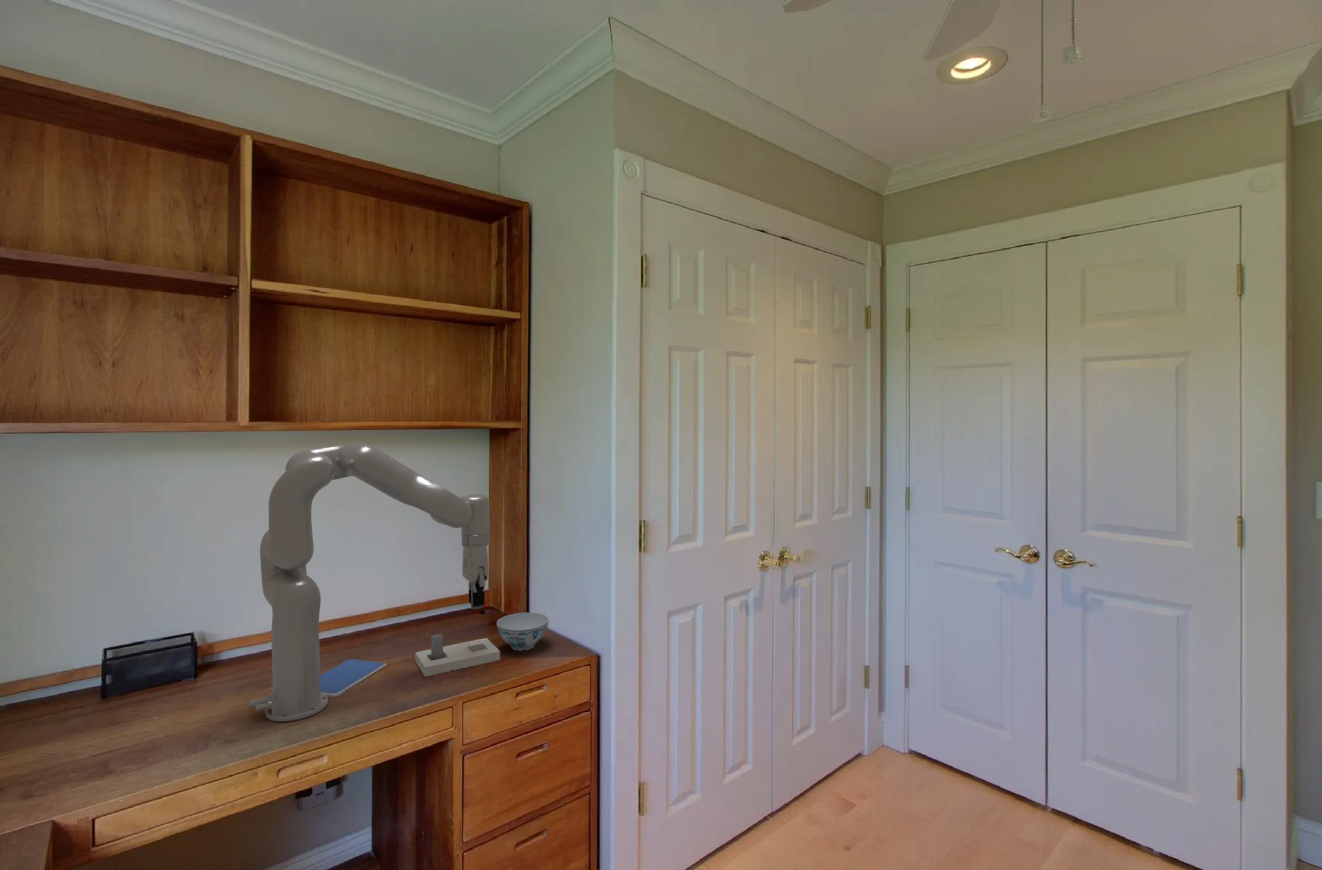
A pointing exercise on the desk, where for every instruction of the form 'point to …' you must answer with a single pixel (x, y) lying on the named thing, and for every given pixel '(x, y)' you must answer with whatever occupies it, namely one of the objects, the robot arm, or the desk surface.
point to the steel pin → (472, 598)
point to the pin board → (455, 655)
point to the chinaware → (522, 629)
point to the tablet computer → (347, 676)
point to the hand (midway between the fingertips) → (476, 603)
